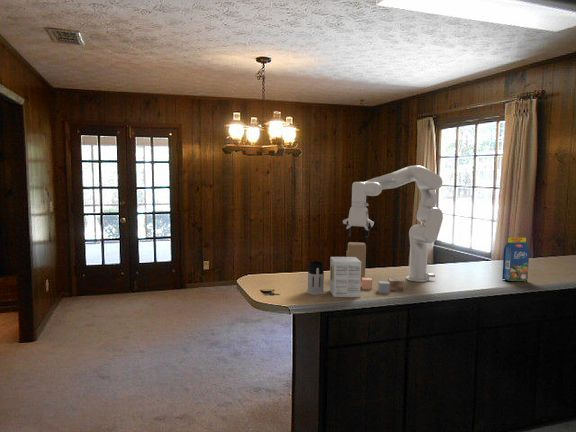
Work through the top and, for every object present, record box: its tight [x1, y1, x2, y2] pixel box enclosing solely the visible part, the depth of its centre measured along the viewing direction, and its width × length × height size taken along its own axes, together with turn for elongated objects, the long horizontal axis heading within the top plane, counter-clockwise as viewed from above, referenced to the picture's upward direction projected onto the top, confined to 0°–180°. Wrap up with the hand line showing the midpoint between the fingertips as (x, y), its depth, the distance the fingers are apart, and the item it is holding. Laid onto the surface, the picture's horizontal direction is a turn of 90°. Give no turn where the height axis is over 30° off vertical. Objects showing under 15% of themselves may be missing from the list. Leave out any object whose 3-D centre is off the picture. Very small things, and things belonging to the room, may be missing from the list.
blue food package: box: [501, 237, 530, 282], centre depth 257 cm, size 6×12×25 cm, turn 104°
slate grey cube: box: [377, 280, 391, 294], centre depth 227 cm, size 5×5×5 cm
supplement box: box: [329, 256, 362, 298], centre depth 221 cm, size 13×13×18 cm
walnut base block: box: [387, 277, 404, 291], centre depth 234 cm, size 7×7×5 cm
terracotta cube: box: [360, 277, 373, 290], centre depth 234 cm, size 5×5×5 cm
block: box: [346, 241, 367, 280], centre depth 259 cm, size 10×10×20 cm
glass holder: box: [306, 260, 325, 296], centre depth 220 cm, size 9×14×15 cm, turn 2°
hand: (357, 236), depth 241 cm, fingers open, 9 cm apart
